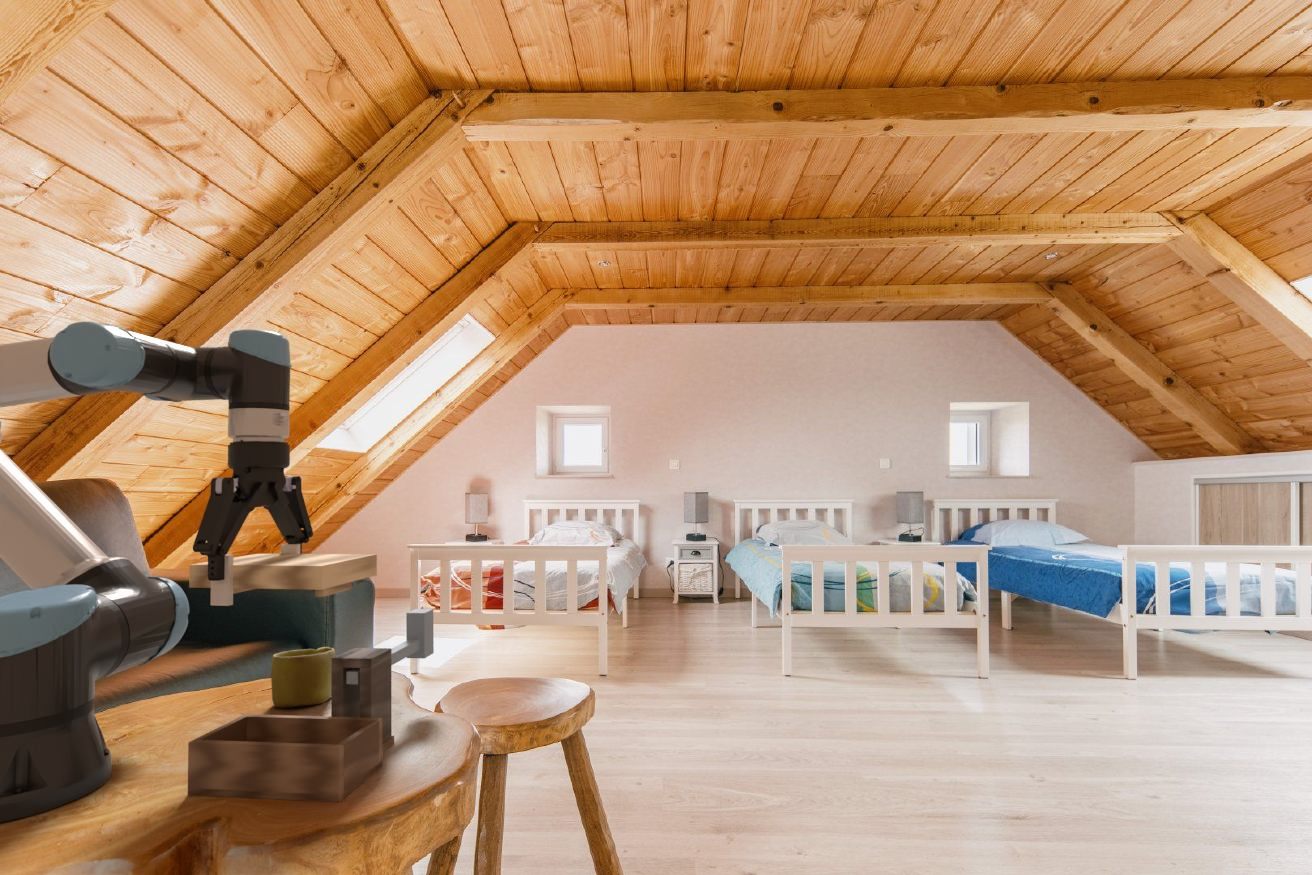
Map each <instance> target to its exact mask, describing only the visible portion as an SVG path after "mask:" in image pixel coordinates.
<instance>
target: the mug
mask: <svg viewBox="0 0 1312 875" xmlns="http://www.w3.org/2000/svg"><path fill="white" fill-rule="evenodd" d="M335 656H336V651H335V648H334V647H329V646H322V647H318V648H317V649H315V648H307V649H306V648H304V649H293V650H286V651H282V652H278V653H275V654H273V655H272V659H271V670H270V671H271V672H270V679H271V697H272V698H271V699H272V703H273V705H274V706H275V708H281V709H282V708H293V707H303V706H309V705H311V706H312V705H321V704H324V702H326V701H328V700H329V699H330V698H331V664H332V658H333V657H335Z"/></svg>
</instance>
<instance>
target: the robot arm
mask: <svg viewBox="0 0 1312 875" xmlns="http://www.w3.org/2000/svg"><path fill="white" fill-rule="evenodd" d="M290 351H291V348H290V343H289V339H288V338H287V337H286V336H285V335H283V334H281V333H278V332H275V331H270V330H263V329H251V328H250V329H248V328H247V329H239V330H234V331H232V332H230V334H229V337H228V341H227V345H225V346H214V347H213V346H212V347H208V346H207V347H204V346H201V347H199V346H198V347H197V346H196V347H195V346H194V347H193V346H187V345H183V344H180V343H177V342H176V343H175V342H173V341H170V340H169V341H168V340H165V339H161V338H157V337H153V336H151V335H150V336H149V335H146V334H142V333H139V332H135V331H132V330H128V329H125V328H123V327H121V326H119V325H113V324H110V323H101V322H100V323H99V322H94V321H77V322H74V323H71V324H68V325H67V326H66V327H65V328H64V329H63V330H60V331H58V333H56V334H55V335H54V336H53V337H45V338H37V339H33V340H24V341H17V342H10V343H3V344H0V409H1V408H8V407H13V406H21V405H26V404H32V403H34V404H35V403H41V402H46V401H53V400H54V401H55V400H61V399H68V398H72V397H74V398H75V397H81V396H90V395H91V396H92V395H97V394H103V393H105V394H106V393H111V392H112V393H113V392H128V393H136V394H141V395H143V396H144V397H145V398H147V399H148V400H152V401H161V402H173V403H179V402H183V401H184V402H187V401H212V400H213V401H214V400H215V401H217V400H223V401H227V400H228V410H227V412H228V415H227V416H228V418H227V420H228V421H227V437H228V438H230V439H231V440H232V442H229V444H227V466H228V468H230V469H232V476H231V477H230V476H229V477H228V476H225V477H213V478H211V480H210V492H209V493H210V495H209V498H208V500H207V504H206V506H205V510H204V513H203V515H202V518H201V521H200V524H199V527H198V531H197V534H196V536H195V539H194V541H193V544H192V551H193V552H195V553H199V554H200V556H207V562H208V579H209V581H211V588H210V606H222V607H223V606H225V607H229V606H233V605H234V594H233V558H234V554H228V553H229V551H230V549H231V547H232V545H233V543H234V542H235V540H236V538H237V536H238V534H239V533H240V530H241V528H242V527H243V525H244V524H245V521H246V520H247V517H248V516H249V514H250V513H251V512H253V511H254V510H255V509H256V508H260V507H263V508H264V509H265V510H267V511H268V512H269V514H270V517H271V518H272V520H273V522H274V524H275V526H276V527H277V529H278V531H279V532H280V534H281V536H282V538H283V539H284V541H285V543H284V544H280V554H303V544H307V543H309V542H310V538H312V537H313V536H314V531H313V528H312V524H311V523H312V522H311V519H310V517H309V516H310V515H309V514H308V509H307V505H306V502H305V499H304V495H303V492H302V477H301V476H300V475H293V476H292V475H287V476H286V475H285V472H284V471H285V469H288V468H289V467H290V464H291V463H290V462H291V461H290V459H291V456H290V454H291V445H290V444H289V442H285V439H289V438H290V410H291V409H290V394H291V391H290V387H291V385H290V384H291V368H292V363H291V354H290V353H291V352H290ZM1 427H2V421H1V420H0V444H2V440H3V434H2V432H1ZM0 559H1V560H3V562H4V563H5V564H6V565H7V566H8V567H9V568H10V569H11V570H12V571H13V572H14V573H15V574H16V575H17V576H18V577H19V579H21V580H22V581H23V582H24V584H26V585H27V586H28V587H29V588H30V590H22V591H18V592H17V591H16V592H14V593H13V592H12V593H9V594H5V595H2V596H0V823H4V822H9V821H13V820H18V819H21V818H25V817H29V816H33V815H36V814H39V813H42V812H45V811H49V810H52V809H55V808H57V807H60V806H62V805H65V804H68V803H71V802H73V801H75V800H77V799H79V798H82V797H84V796H86V795H89V794H90V793H91V792H93V791H95V790H97V789H99V788H100V787H101V786H103V785H104V784H105V783H107V781H108V780H109V779H110V778H111V775H112V754H111V751H110V749H109V748H107V744H106V741H105V738H104V735H103V732H102V729H101V728H100V725H99V723H98V720H97V718H96V716H95V695H96V694H95V691H96V688H95V687H96V682H97V681H99V680H103V679H104V678H107V677H110V676H113V675H115V674H119V673H121V672H123V671H126V670H129V669H131V668H134V667H136V666H137V667H138V666H142V665H145V664H147V663H150V662H151V661H154V660H155V659H156V658H158V657H160V656H162V655H164V654H166V653H168V652H169V651H170V650H172V649H173V648H174V647H175V646H176V645H177V644H178V643H179V642H180V640H182V637H183V636H184V634H185V632H186V630H187V628H188V624H189V614H190V604H189V600H188V597H187V595H186V593H185V592H184V590H183V588H182V587H181V586H180V585H179V584H178V583H176V582H175V581H173V580H172V579H169V578H167V577H160V576H153V575H152V576H146V575H145V574H144V573H143V572H142V571H141V570H140V569H139V568H138V567H137V566H136V565H135V564H134V563H133V562H132V561H131V560H130V559H129V558H127V557H124V556H116V557H115V556H111V557H110V556H108V555H107V554H106V553H104V551H103V550H102V549H101V548H100V547H99V546H98V545H96V543H94V541H93V540H92V539H90V537H89V536H88V535H87V534H86V533H85V532H84V531H83V530H82V529H81V528H80V527H79V526H78V525H77V524H76V523H75V522H74V521H73V520H72V519H71V518H70V517H69V516H68V515H67V514H66V513H65V512H64V511H63V510H62V509H61V508H60V507H59V506H58V505H57V504H56V503H55V502H54V501H53V500H52V499H51V498H50V497H49V496H48V495H47V494H46V493H45V492H44V491H43V490H42V489H41V488H40V487H39V486H38V485H37V484H36V483H35V481H33V480H32V479H31V478H30V476H28V475H27V474H26V473H25V472H24V471H23V470H22V469H21V468H20V466H18V465H17V464H16V463H15V462H14V461H13V460H12V459H11V458H10V456H9V455H7V454H6V453H5V451H4V450H2V449H1V448H0Z"/></svg>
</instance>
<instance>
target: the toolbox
mask: <svg viewBox="0 0 1312 875" xmlns="http://www.w3.org/2000/svg"><path fill="white" fill-rule="evenodd" d="M391 649H392V648H388V647H387V648H386V647H384V648H383V647H382V648H380V647H379V648H378V647H377V648H375V647H353V648H351V649H349V650H345V651H344V652H342V653H340V654H337V655H335V657H333V658H332V664H331V697H330V698H331V703H330V705H331V708H330V709H331V710H330V711H331V712H330V714H331V715H330V716H323V715H319V716H318V715H292V714H290V715H289V714H287V715H286V714H284V715H283V714H259V713H258V714H256V713H254V714H253V713H251V714H250V713H245V714H243V715H241V716H239V717H237V718H235V719H233V720H230V721H229V722H227V723H224V724H223V725H221V726H219V727H217V728H215V729H212V730H210V731H209V732H207V733H204V734H203V735H200V736H199V737H197V738H194V739H192V740H190V741H188V744H187V746H188V748H187V749H188V750H187V751H188V752H187V753H188V754H187V755H188V756H187V757H188V758H187V796H197V797H199V796H204V797H220V798H221V797H222V798H224V797H225V798H242V799H260V800H261V799H264V800H265V799H266V800H281V801H282V800H284V801H285V800H287V801H302V802H303V801H306V802H308V801H309V802H327V803H329V802H331V803H340V802H342V801H343V800H344V799H345V798H346V797H348V796H349V795H350V794H352V793H353V792H354V791H355V790H356V789H357V788H358V787H360V786H361V785H362V784H364V783H365V781H367V780H368V779H369V778H371V777H372V776H373V775H374V774H375V773H377V772H378V771H379V770H380V769H381V768H383V753H384V752H385V751H386V750H388V749H389V748H390V747H391V746H392V745H394V744H395V735H392V666H391ZM353 668H360V683H359V684H346V672H347V671H349V670H351V669H353Z"/></svg>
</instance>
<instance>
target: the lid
mask: <svg viewBox="0 0 1312 875" xmlns="http://www.w3.org/2000/svg"><path fill="white" fill-rule="evenodd" d="M377 558H378V555H377V554H373V553H371V554H369V553H367V554H365V553H349V554H348V553H345V554H344V553H302V554H281V553H253V554H247V555H242V556H235V557H234V556H233V595H234V594H239V593H242V592H243V593H244V592H246V591H251V590H257V589H258V590H259V589H262V590H263V589H264V590H266V589H267V590H311V591H312V590H314V591H315V592H314V594H315V595H314V597H315V598H325V597H329V596H331V595H336V594H339V593H343V592H346V591H351V590H352V589H353V588H352V587H353V586H352V585H353V584H352V582H357V581H360V580H364V579H368V578H371V577H375V576H377V575H378V574H377V573H378V566H377V564H378V562H377V560H378V559H377ZM188 573H189V574H188V580H189V581H188V584H189V585H188V588H193V589H195V588H199V589H200V588H204V589H207V588H208V589H211V581H209V579H208V561H204V562H199V563H198V562H197V563H192V564H189V571H188Z"/></svg>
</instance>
